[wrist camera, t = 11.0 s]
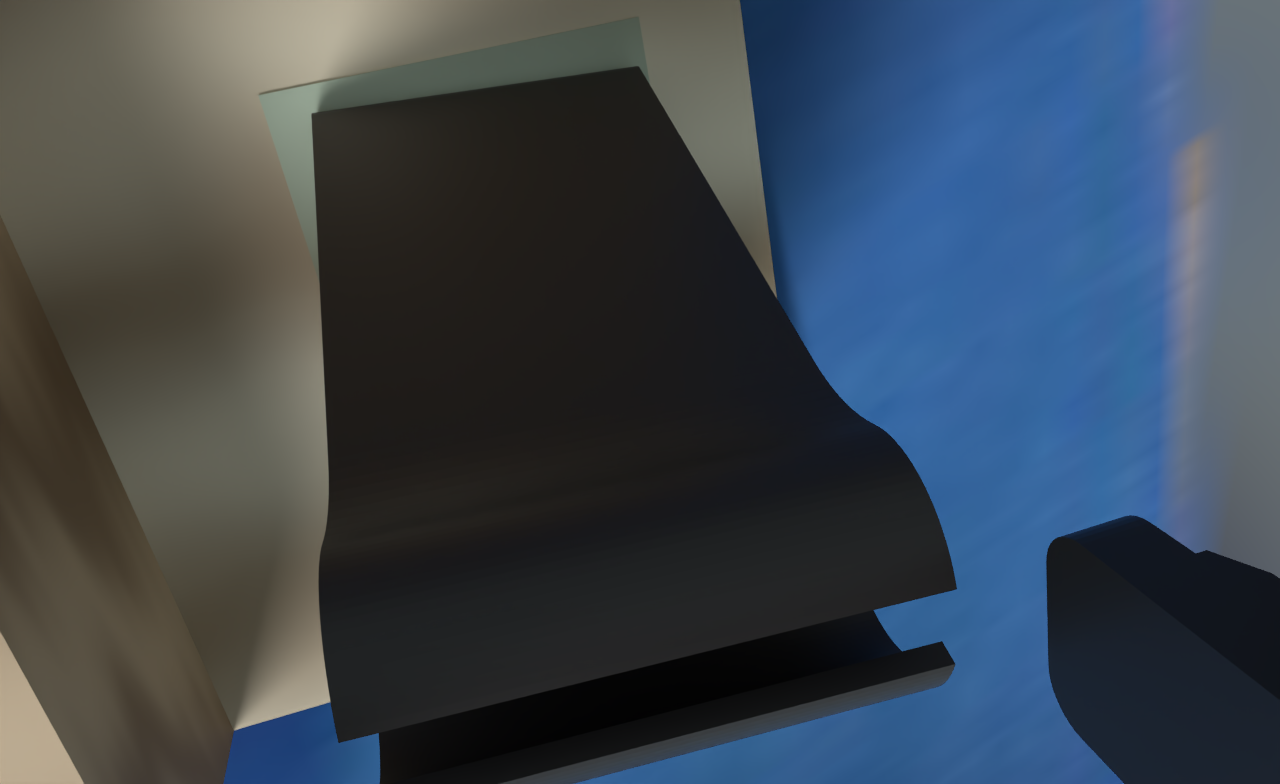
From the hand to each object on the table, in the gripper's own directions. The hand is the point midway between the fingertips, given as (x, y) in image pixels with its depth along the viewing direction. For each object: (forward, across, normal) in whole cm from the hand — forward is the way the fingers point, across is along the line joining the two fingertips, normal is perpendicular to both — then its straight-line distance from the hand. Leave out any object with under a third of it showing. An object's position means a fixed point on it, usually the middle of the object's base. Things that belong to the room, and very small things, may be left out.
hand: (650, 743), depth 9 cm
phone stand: (+13, 0, 0) cm, 13 cm away
